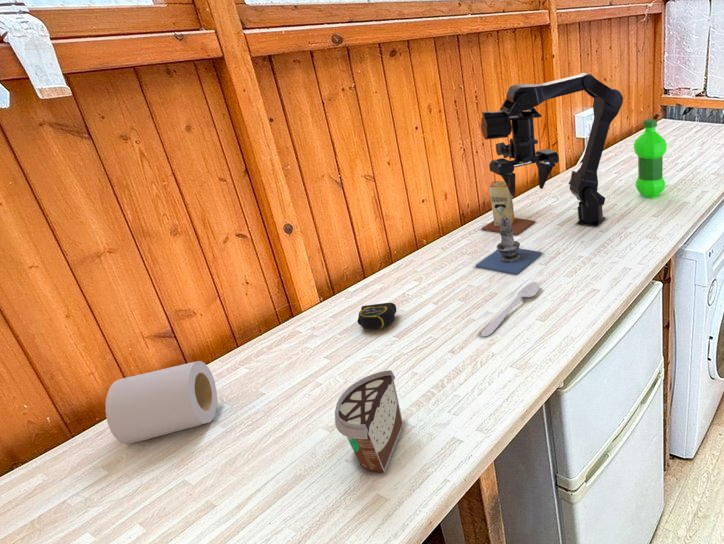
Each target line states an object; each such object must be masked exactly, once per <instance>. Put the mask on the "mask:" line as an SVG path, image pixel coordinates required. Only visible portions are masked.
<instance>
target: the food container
mask: <svg viewBox="0 0 724 544" xmlns="http://www.w3.org/2000/svg"><path fill="white" fill-rule="evenodd" d="M395 380H396V377H395V374H394V372H393V371H392V369H389V370H383V371H379V372H375V373H371V374H369V375H367V376H364V377H362V378H360V379H359V380H358V381H356V382H354V383H352V384H351V385H350V386H349V387H348V388H346V390H345V391H344V392H343V393H342V394H341V395H340V396H339V398H338V399H337V402H336V406H335V409H334V424H335V428H336V430H337V431H338V432H339V433H340V434H341V435H342V436H344V437H346V438H347V440H348V443H349V444H350V447H351V448H352V450H353V453H354V455H355V457H356V459H357V461H358V463H359V465H360V466H361V468H362V469H364V470H365V471H368V472H370V473H376V474H384V473H386V470H387V467H388V464H389V462H390V459H391V456H392V454H393V452H394V449H395V446H396V444H397V441H398V438H399V436H400V434H401V431H402V429H403V426H404V421H403V416H402V411H401V407H400V402H399V397H398V393H397V389H396V384H395Z"/></svg>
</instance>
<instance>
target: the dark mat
mask: <svg viewBox="0 0 724 544" xmlns="http://www.w3.org/2000/svg"><path fill="white" fill-rule="evenodd" d="M535 223H536V221H535V220H533V219H526V218H520V217H515V219H514V221H513V223H512V225H511V227H512V230H513V231H514V232H513V236H518V235H519V234H520V233H522V232H524V231H525V230H526V229H528V228H529V227H531V226H533V224H535ZM481 230H482V231H486V232H492V233H499V232H500V226H495V225H494V220H492V221H491V222H489V223H487V224H486V225H484V226H482V227H481Z"/></svg>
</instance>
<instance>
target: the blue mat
mask: <svg viewBox="0 0 724 544" xmlns="http://www.w3.org/2000/svg"><path fill="white" fill-rule="evenodd" d="M517 254H519V255H520V259H519V260H517V261H515V262H510V263H505V262H501V261H500V259H499V258H500V257H501V256H502V255H501V254H500V253H499V251H498V249H497V250H495V251H493V252H492V253H491V254H489V255H487V257H485V258H484V259H482V260H481V261H479V262H477V263H476V264H475V267H476V268H479V269H484V270H489V271H496V272H500V273H505V274H509V275H515V276H516V275H518V274H520V272H522V271H523V270H524V269H525V268H526V267H527V266H529V265H530V264H531V263H533V262H534V261H535V260H536V259H537V258H538V257H540V256H541V255H542V251H538V250H531V249H524V248H520V247H519V250H518V252H517Z"/></svg>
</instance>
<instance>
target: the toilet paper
mask: <svg viewBox="0 0 724 544" xmlns="http://www.w3.org/2000/svg"><path fill="white" fill-rule="evenodd" d="M217 407H218V392H217V386H216V381H215V378H214V375H213V373H212V371H211V369H210V368H209V366H208V365H207V364H206V363H205V362H204V361H202V360H197V361H192V362H188V363H183V364H180V365H174V366H170V367H167V368H162V369H157V370H152V371H149V372H145V373H140V374H136V375H132V376H128V377H127V376H126V377H122V378H119V379H116V380H115V381H113V383H111V385H110V386H109V389H108V391H107V394H106V397H105V418H106V421H107V425H108V428H109V431H110V432H111V434H112V435H113V437H114V438H115V439H116V440H117V441H118V442H119V443H121V444H124V445H131V444H134V443H138V442H143V441H146V440H150V439H153V438H157V437H160V436H161V437H162V436H164V435H168V434H172V433H177V432H179V431H183V430H186V429H190V428H195V427H198V426H202V425H205V424H209V423H211V422H212V421H213V420H214V418H215V417H216V414H217Z"/></svg>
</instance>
